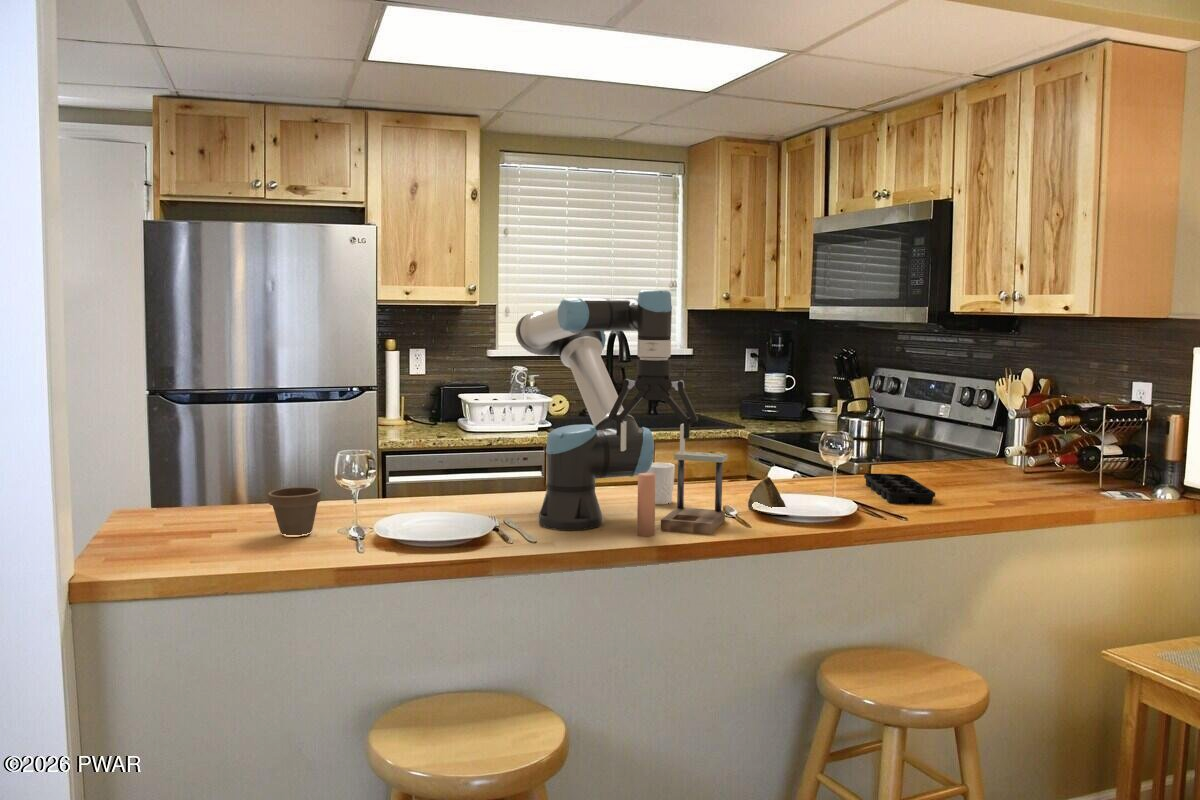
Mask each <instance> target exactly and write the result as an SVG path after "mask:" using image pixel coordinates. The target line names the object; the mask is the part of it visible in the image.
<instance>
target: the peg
mask: <svg viewBox="0 0 1200 800" xmlns="http://www.w3.org/2000/svg"><path fill="white" fill-rule="evenodd" d="M636 519H637V520H636V521H637V522H636V523H637V525H636V526H637V527H636V535H637V536H638V537H643V538H645V537H646V538H649V537H654V536H655V535H656V534H655V528H656V527H655V526H656V525H655V523H656V522H655V521H656V504H655V474H653V473H639V474H638V475H637V516H636Z"/></svg>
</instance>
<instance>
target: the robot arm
mask: <svg viewBox="0 0 1200 800" xmlns="http://www.w3.org/2000/svg"><path fill="white" fill-rule="evenodd" d="M637 295H638V296H637V298H636V297H625V298H624V297H623V298H621V297H620V298H617V297H616V298H613V297H611V298H606V297H605V298H591V297H590V298H585V297H570V298H564V299H562V300H561V301H560V304H558V307H556V308H553V309H551V310H547V311H534V312H530V313H526V314H525V315H524V316H522V317H521V318H520V320H519V321H518V322H517V325H516V327H515V336H516V340H517V342H518V344H520V346H521V347H522V348H523V349H524V350H525V351H527V352H529V353H531V354H534V355H538V356H559V359H560V360H561V363H562V364H563V365H564V366H565V367H567V368H569V369H570V370H571V372H572V375H573V378H574V380H575V383H576V385H577V388H578V390H579V394H580V396H581V398H582V400H583V403H584V405H585V408H586V410H587V413H588V416H589V418H590V419H591V422H592V424H587V423H583V424H570V425H564V426H561V427H557V428H554V429H552V430H551V431H550V432H548V434H547V437H546V448H545V454H546V456H545V457H546V459H545V461H546V489H545V490H546V492H545V496H544V498H543V500H542V504H541V508H540V511H539V514H538V524H539V526H541V527H543V526H544V528H547V529H552V530H558V531H559V530H560V531H581V530H583V531H584V530H590V529H594V528H598V527H600V526H601V525H603V513H602V509H601V506H600V503H599V500H598V497H597V494H596V479H608V478H623V477H630V478H633V477H634V476H635V477H636V476H638V474H639V473H646V472H648V470H649V469H650V467H651V465H652V463H654V456H655V441H654V436H653V433H652V431H651V430H650V429H649V428H648V427H644V426H642V427H640V426H638V424H637V421H636V419H635V418H634V416H632V415H630V413H631V412H632V410H633V409H634V408H635V407H636V406H637V405H638V403H640V401H641V400H642V399H644V400H645V401H651V400H655V401H661V400H664V401H665V403H667V405H668V406H669V407H670V408H671V410H672V411H673V412H674V413H675V414H676V417H678V418H679V419H680V421H681V422H682V423H680V425H679V426H680V427H679V451H680V454H683V453H684V452H686V448H685V447H686V439H689V438H690V433H691V430H690V429H691V424H693V423H694V424H695V423H696V422H698V420H699V417H698V415H697V413H696V411H695V410H696V409H694V406H693V404H692V402H691V400H690V398H689V396H688V394H687V391H686V387H685V386H686V385H685V381H684V380H683V379H681V380H679V381H672V380H671V368H672V367H671V365H672V364H671V363H672V362H671V360H670V359H669V358H670V357H671V355H672V316H673V315H672V313H673V312H672V310H673V305H672V294H671V292H670V291H669V290H664V289H660V290H657V289H642V290H640V291H639V292H638V294H637ZM610 331H611V332H626V331H627V332H629V331H631V332H637V349H636V351H637V352H636V353H637V355H636V356H637V357H638V358H639V359H638V360H637V362H636V363H637V364H636V365H637V366H636V368H637V371H636V379H635V380H632V379H629V378H625V379H624V380H623V381H622V387H621V388H622V389H621V391H620V392H619V394H618V392H617V391H616V388H615V386H614V384H613V381H612V378H611V377H610V374H609V372H608V369H607V368H606V365H605V363H604V361H603V358H602V356H601V355H602V353H603V350H604V349H605V346H606V339H607V338H606V334H605V332H610ZM634 386H635V388H636V389H637V391H638V393H637V394H636V395H635V396H634V398H633V399H632V400H631V401H630V402H629V403H628V404H627V406H626V407H624V406H623V403H624V401H625V399H626V398H627V395H628V393H629V391H630V390H631V389H632V388H633V387H634ZM672 388H674V390H675V391H676V392H678V395H679V396H680V397H679V398H680V399H681V401H682V404H683V406H684V407H685V409H686V412H687V413H688V415H687V414H686V413H685V412H684V411H683V409H682V408H681V407H680V405H679V404H678V403H677V401H675V399H674V398H673V397H672V395H671V394H670V391H671V389H672ZM688 416H689V417H688Z"/></svg>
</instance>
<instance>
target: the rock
mask: <svg viewBox="0 0 1200 800" xmlns="http://www.w3.org/2000/svg"><path fill="white" fill-rule="evenodd" d="M754 502H758V503H760V504H763V505H765V506H768V507H771V508H772V507H786V508H787V506H786V503H785V502H784V499H783V498H782V497H781V494H780V492H779V490H778V488H777V486H776V484H775V483H774V482H773V480H772V478H771V477H770V476H768V475H766V476H765V478H763V479H762V480H760V482H759V483H758V484H757V485H755V486H754V487H753V490H752V491H751V493H750V495H749V499H748V501H747V504H748V505H747V507H748V509H749V510H751V511H754V512H757V513H760V512H759V511H755V510H754V509H753V507H752V504H753V503H754Z"/></svg>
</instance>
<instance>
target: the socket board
mask: <svg viewBox="0 0 1200 800" xmlns="http://www.w3.org/2000/svg"><path fill="white" fill-rule="evenodd" d="M725 521H726V510H721V512H716V511H715V509H708V508H697V507H696V508H695V507H685V506H684V508H683V509H678V508H677V507H675V508H673V510H671V511H670V512H668V513H667V514H666V515H665V516H664V517H662V518H661V519H660V531H667V532H668V531H669V532H679V533H689V534H690V533H691V534H700V535H713V533H714V532H715V531H716V530H717V529H718V528H720V526H721V525H722V524H723V523H724V522H725Z"/></svg>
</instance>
